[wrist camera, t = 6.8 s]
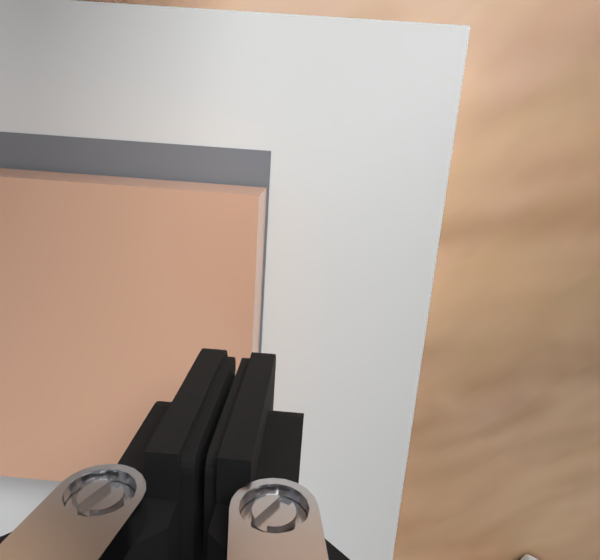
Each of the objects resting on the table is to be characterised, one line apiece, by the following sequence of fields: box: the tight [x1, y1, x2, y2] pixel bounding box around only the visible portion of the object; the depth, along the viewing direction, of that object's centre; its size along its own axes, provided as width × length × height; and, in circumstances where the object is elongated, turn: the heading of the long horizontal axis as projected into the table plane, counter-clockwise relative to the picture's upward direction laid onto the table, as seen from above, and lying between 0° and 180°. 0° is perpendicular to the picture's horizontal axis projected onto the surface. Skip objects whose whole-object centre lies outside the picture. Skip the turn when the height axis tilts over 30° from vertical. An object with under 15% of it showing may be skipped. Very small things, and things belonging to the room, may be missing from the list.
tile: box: [0, 168, 267, 482], centre depth 15 cm, size 2×9×9 cm
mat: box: [0, 0, 470, 560], centre depth 17 cm, size 16×18×1 cm
